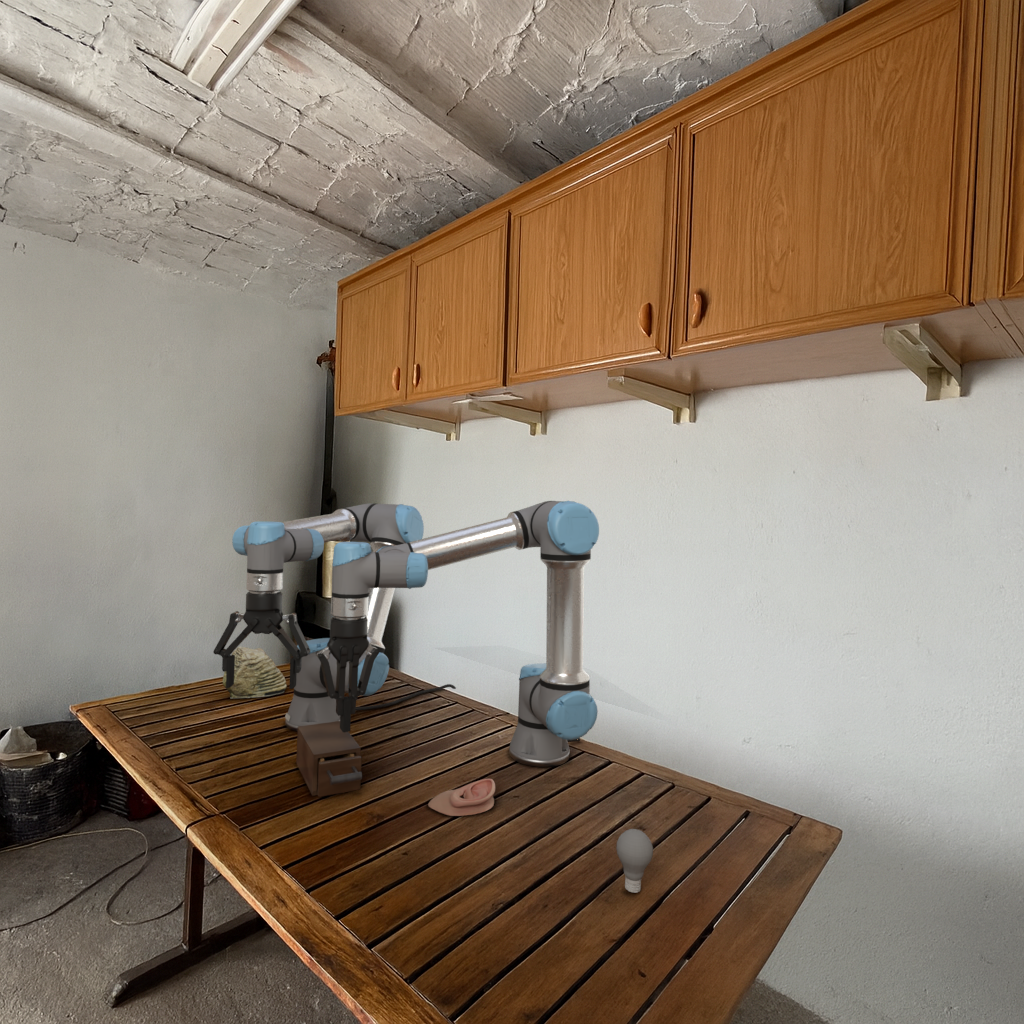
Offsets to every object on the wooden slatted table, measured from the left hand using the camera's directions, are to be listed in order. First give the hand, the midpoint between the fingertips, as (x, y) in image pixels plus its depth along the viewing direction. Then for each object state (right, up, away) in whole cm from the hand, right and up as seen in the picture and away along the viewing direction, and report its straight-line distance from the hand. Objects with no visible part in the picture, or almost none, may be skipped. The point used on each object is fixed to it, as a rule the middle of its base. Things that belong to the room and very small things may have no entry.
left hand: (261, 686), depth 141 cm
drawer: (+16, -20, -2) cm, 26 cm away
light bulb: (+76, -25, -35) cm, 87 cm away
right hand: (+21, -6, -9) cm, 24 cm away
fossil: (-25, -18, +57) cm, 65 cm away
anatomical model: (+45, -23, -7) cm, 51 cm away
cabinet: (+13, -21, +4) cm, 25 cm away
